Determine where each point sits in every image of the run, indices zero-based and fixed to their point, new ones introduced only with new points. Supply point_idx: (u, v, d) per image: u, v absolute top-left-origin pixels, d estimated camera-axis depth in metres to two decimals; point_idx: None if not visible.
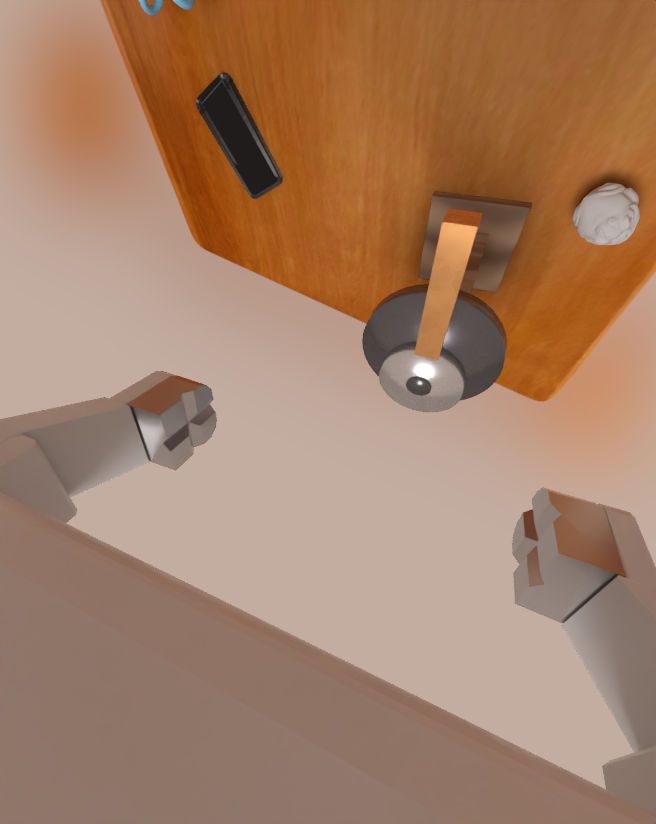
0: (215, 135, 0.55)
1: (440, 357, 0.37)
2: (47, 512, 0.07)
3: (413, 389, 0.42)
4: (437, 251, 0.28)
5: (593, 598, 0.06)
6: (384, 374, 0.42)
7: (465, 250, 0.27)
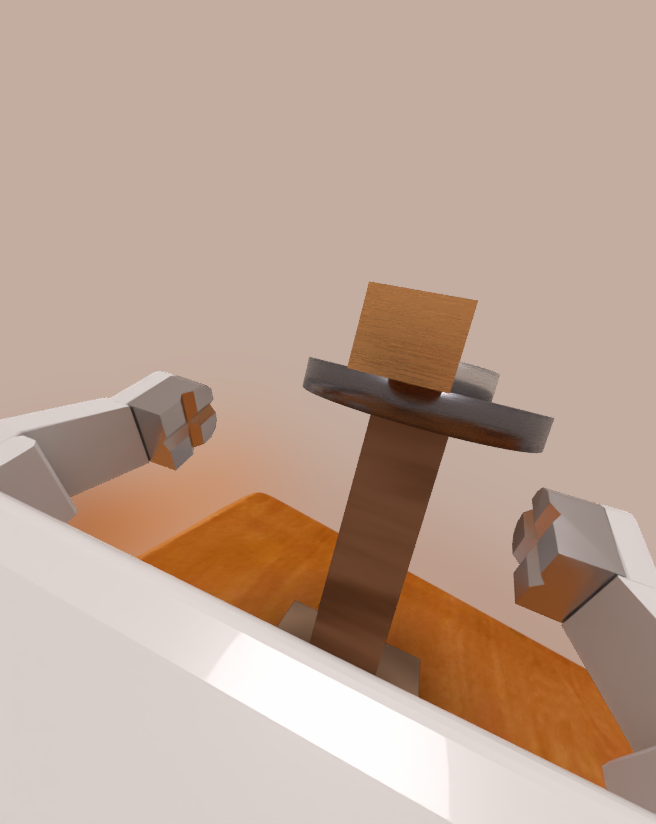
0: None
1: None
2: (47, 512, 0.07)
3: None
4: None
5: (592, 597, 0.06)
6: None
7: None
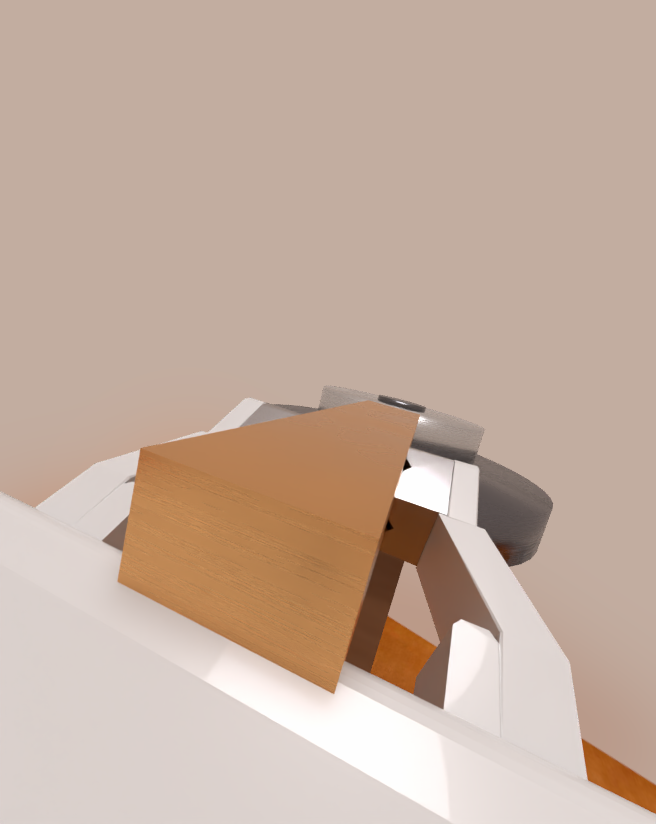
0: None
1: None
2: None
3: (410, 402, 0.22)
4: (393, 471, 0.05)
5: (429, 538, 0.06)
6: (472, 425, 0.20)
7: (258, 435, 0.05)
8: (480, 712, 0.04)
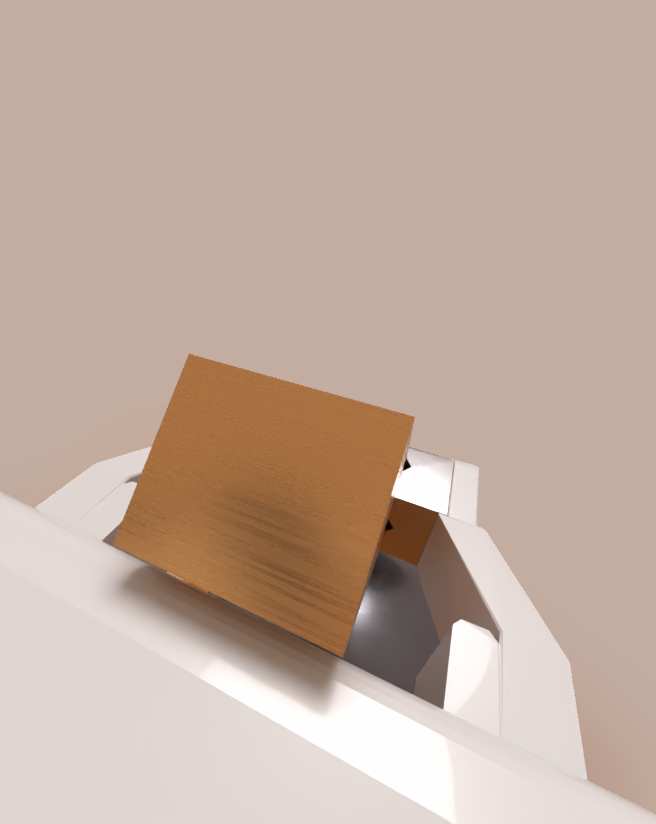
0: None
1: None
2: None
3: None
4: None
5: (428, 537, 0.06)
6: None
7: None
8: (480, 712, 0.04)
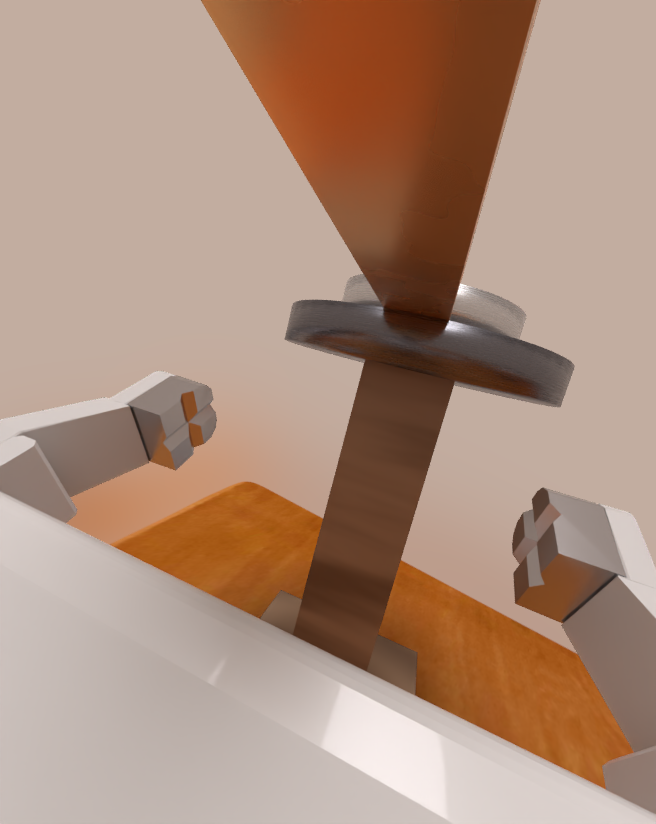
0: None
1: None
2: (47, 512, 0.07)
3: None
4: None
5: (593, 597, 0.06)
6: None
7: None
8: None
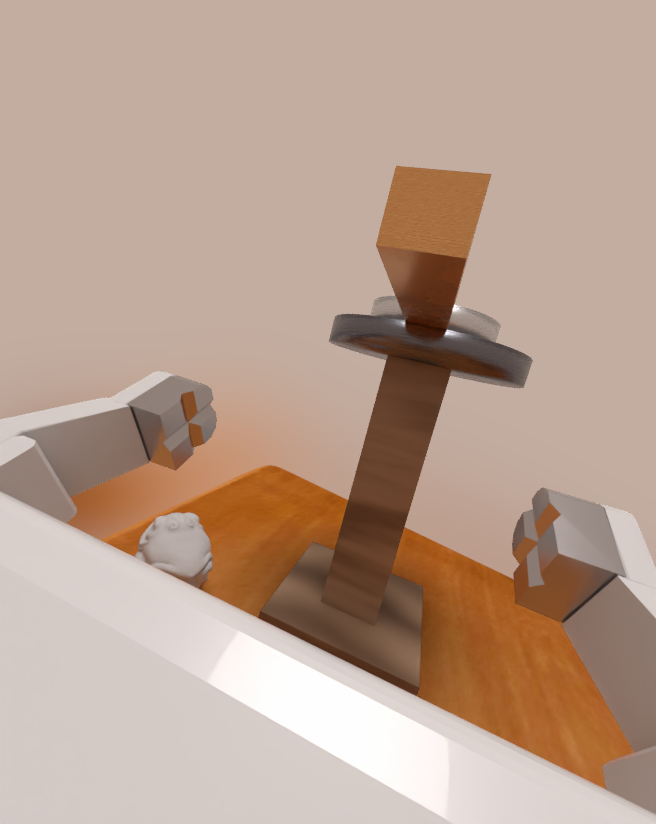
0: None
1: None
2: (47, 512, 0.07)
3: None
4: None
5: (592, 597, 0.06)
6: None
7: None
8: None
